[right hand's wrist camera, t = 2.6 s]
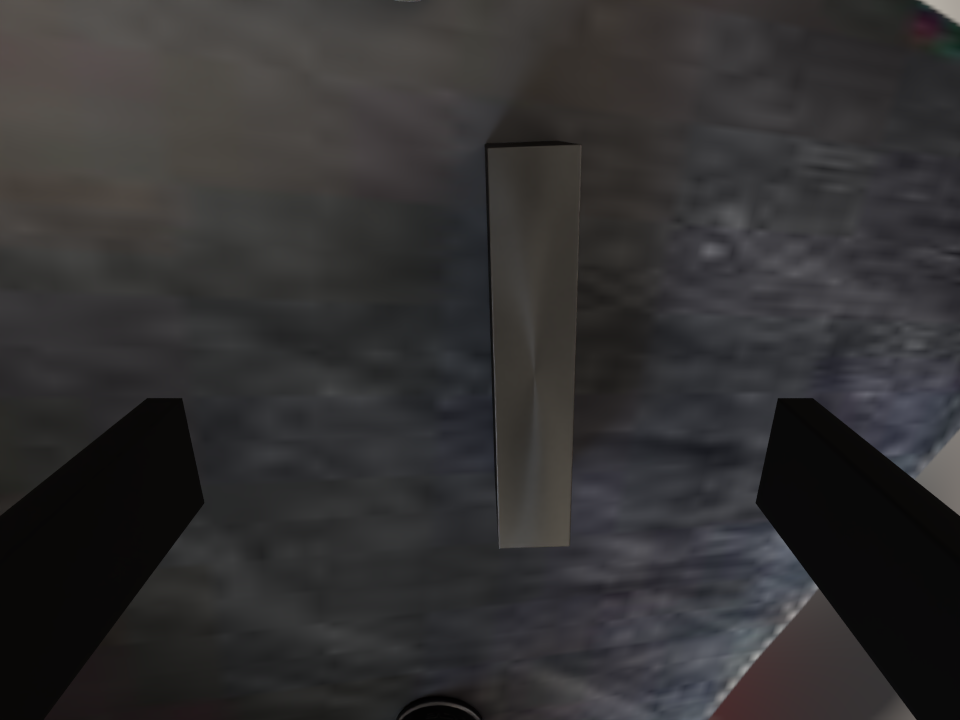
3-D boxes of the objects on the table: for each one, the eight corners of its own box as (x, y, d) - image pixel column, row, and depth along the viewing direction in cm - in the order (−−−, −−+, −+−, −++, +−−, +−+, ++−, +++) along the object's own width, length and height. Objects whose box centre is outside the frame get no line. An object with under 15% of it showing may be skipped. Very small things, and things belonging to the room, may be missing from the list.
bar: (484, 143, 39) (487, 147, 30) (559, 140, 39) (582, 144, 30) (494, 477, 49) (498, 548, 40) (553, 475, 49) (570, 546, 40)
